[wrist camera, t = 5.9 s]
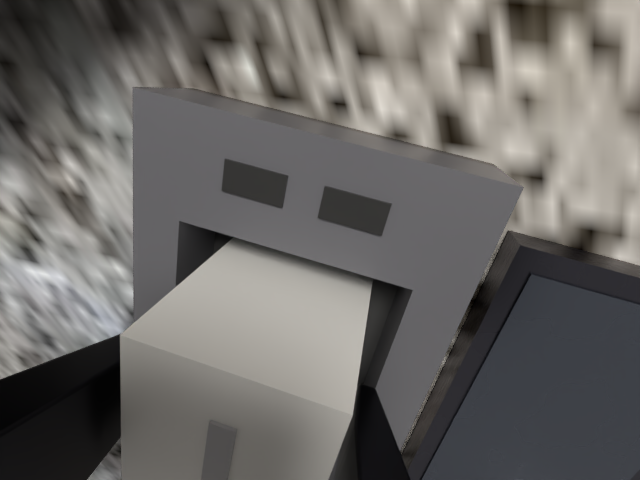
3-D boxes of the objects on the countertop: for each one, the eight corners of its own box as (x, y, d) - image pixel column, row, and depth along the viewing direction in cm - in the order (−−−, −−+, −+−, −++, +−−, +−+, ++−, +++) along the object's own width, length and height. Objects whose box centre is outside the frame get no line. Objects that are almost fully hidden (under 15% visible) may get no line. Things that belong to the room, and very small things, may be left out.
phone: (533, 558, 14) (543, 593, 13) (379, 502, 14) (377, 531, 13) (760, 298, 9) (805, 324, 8) (508, 230, 9) (521, 246, 8)
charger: (339, 374, 12) (300, 555, 7) (226, 336, 12) (118, 485, 8) (374, 270, 10) (352, 419, 5) (241, 230, 10) (117, 337, 6)
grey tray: (372, 453, 13) (366, 525, 11) (175, 384, 14) (132, 438, 12) (493, 164, 9) (525, 188, 7) (193, 88, 10) (130, 87, 7)
